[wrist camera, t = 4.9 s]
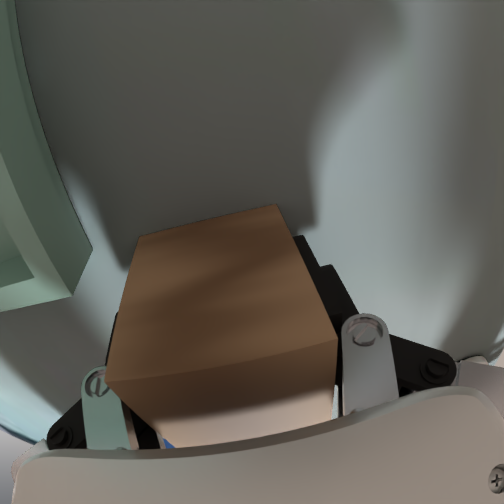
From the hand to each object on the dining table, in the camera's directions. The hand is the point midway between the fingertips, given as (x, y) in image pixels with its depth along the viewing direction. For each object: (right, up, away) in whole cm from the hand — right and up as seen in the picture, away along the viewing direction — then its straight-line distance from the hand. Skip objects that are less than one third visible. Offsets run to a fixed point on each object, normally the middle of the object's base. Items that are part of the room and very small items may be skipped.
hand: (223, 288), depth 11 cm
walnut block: (0, 0, +1) cm, 1 cm away
